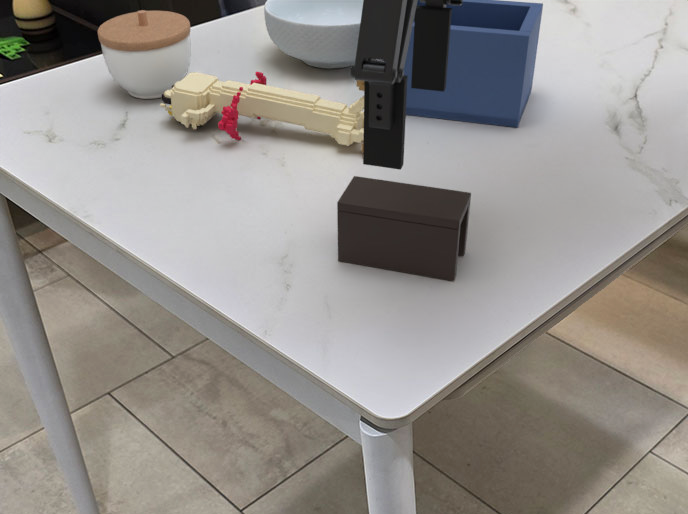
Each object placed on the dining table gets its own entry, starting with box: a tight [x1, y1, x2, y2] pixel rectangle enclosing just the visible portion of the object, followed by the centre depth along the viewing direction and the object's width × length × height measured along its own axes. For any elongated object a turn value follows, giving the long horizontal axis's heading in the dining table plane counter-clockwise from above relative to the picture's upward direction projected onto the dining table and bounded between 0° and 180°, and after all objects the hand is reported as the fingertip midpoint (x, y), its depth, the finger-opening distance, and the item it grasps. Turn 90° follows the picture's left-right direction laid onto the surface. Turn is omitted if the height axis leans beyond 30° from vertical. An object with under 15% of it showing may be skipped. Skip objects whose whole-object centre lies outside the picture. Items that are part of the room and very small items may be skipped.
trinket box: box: [97, 9, 192, 100], centre depth 101 cm, size 11×11×9 cm
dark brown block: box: [336, 175, 472, 282], centre depth 71 cm, size 10×5×6 cm, turn 69°
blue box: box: [382, 0, 544, 128], centre depth 94 cm, size 15×10×10 cm, turn 69°
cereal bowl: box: [263, 0, 364, 69], centre depth 107 cm, size 17×17×7 cm
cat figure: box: [159, 71, 364, 153], centre depth 90 cm, size 10×9×25 cm
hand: (407, 123), depth 65 cm, fingers open, 13 cm apart
